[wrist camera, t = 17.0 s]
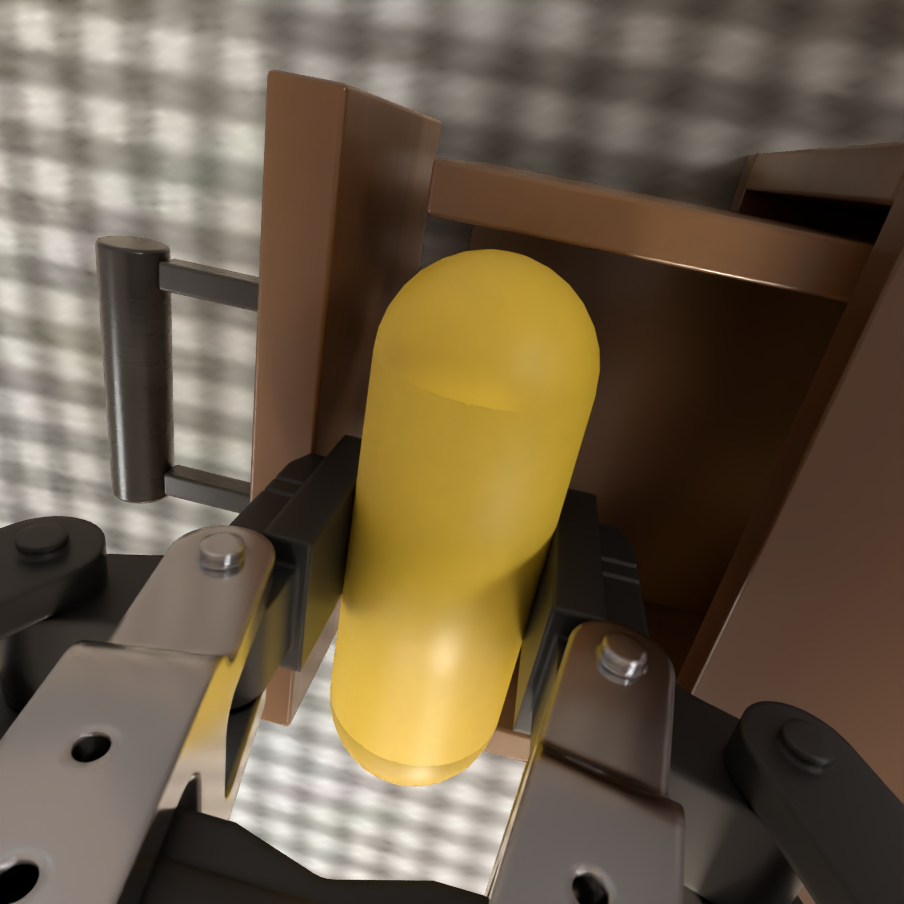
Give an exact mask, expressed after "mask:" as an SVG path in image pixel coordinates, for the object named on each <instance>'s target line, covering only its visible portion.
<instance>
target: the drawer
mask: <svg viewBox="0 0 904 904" xmlns="http://www.w3.org/2000/svg"><path fill="white" fill-rule="evenodd" d="M440 132H441V122H440V121H439V120H437V119H434V118H432V117H429V116H427V115H424V114H422V113H419V112H416V111H414V110H411V109H409V108H406V107H404V106H401V105H398V104H396V103H393V102H391V101H388V100H386V99H383V98H380V97H378V96H375V95H373V94H370V93H368V92H365V91H362V90H360V89H357V88H355V87H352V86H350V85H347V84H344V83H340V82H335V81H330V80H325V79H320V78H314V77H309V76H304V75H299V74H294V73H288V72H283V71H278V70H272V71H269V73H268V79H267V103H266V127H265V151H264V174H263V198H262V222H261V246H260V270H259V277H255V276H251V275H246V274H241V273H237V272H232V271H228V270H223V269H219V268H214V267H210V266H205V265H201V264H196V263H192V262H187V261H183V260H178V259H171V260H170V249H169V247H168V246H167V245H165V244H163V243H161V242H158V241H154V240H150V239H145V238H138V237H128V236H107V237H102V238H98V239H97V240H96V242H95V251H96V266H97V280H98V294H99V309H100V323H101V338H102V352H103V367H104V381H105V395H106V410H107V424H108V439H109V453H110V467H111V482H112V491H113V493H114V495H115V496H116V497H117V498H119V499H120V500H123V501H126V502H130V503H151V502H156V501H159V500H162V499H164V498H166V497H168V496H173V497H177V498H181V499H185V500H189V501H193V502H197V503H201V504H205V505H209V506H213V507H217V508H221V509H225V510H229V511H233V512H236V513H241V512H242V511H243V510H244V509H245V508H246V507H247V506H248V505H249V504H250V503H251V502H252V501H253V500H254V499H255V498H256V497H257V496H258V495H259V494H260V492H261V491H264V490H265V487H266V486H267V485H268V484H269V483H270V482H271V481H272V480H273V479H276V476H277V475H278V474H279V473H280V472H281V471H282V469H283V468H284V467H285V466H286V465H287V464H288V463H289V462H291V461H294V460H296V459H298V458H301V457H303V456H305V455H308V454H310V453H314V454H318V455H322V456H327V455H328V454H329V453H330V452H331V450H332V449H333V448H334V447H335V446H336V444H337V443H338V442H339V441H340V440H341V439H342V437H343V436H344V435H350V436H354V437H358V438H362V435H363V427H364V419H365V411H366V403H367V396H368V388H369V380H370V372H371V364H372V356H373V348H374V344H375V340H376V336H377V331H378V327H379V325H380V323H381V321H382V318H383V316H384V314H385V312H386V310H387V308H388V306H389V305H390V303H391V302H392V301H393V299H394V298H395V297H396V295H397V294H398V293H399V291H400V290H401V289H402V287H403V286H404V285H405V284H406V283H407V282H408V281H409V280H411V279H412V278H413V277H414V276H415V275H416V274H417V273H418V272H419V270H420V264H421V257H422V250H423V244H424V237H425V231H426V224H427V217H428V214H429V215H430V216H435V217H439V218H444V219H449V220H454V221H459V222H463V223H468V224H472V230H471V235H470V241H469V246H468V251H473V250H485V249H496V250H503V251H509V252H513V253H518V254H521V255H525V256H527V257H530V258H532V259H533V260H535V261H537V262H539V263H541V264H543V265H545V266H547V267H549V268H550V269H552V270H553V271H554V272H555V273H556V274H558V275H559V276H560V277H561V278H562V279H563V280H565V281H566V282H567V283H568V284H569V285H570V286H571V287H572V289H573V290H574V291H575V293H576V294H577V295H578V297H579V298H580V299H581V301H582V302H583V304H584V306H585V308H586V310H587V312H588V314H589V316H590V318H591V321H592V323H593V325H594V327H595V332H596V336H597V340H598V345H599V349H600V373H599V379H598V384H597V389H596V396H595V399H594V403H593V406H592V409H591V413H590V416H589V420H588V423H587V426H586V430H585V433H584V436H583V440H582V443H581V446H580V450H579V453H578V456H577V460H576V463H575V466H574V470H573V473H572V476H571V480H570V483H569V487H568V488H570V489H574V490H579V491H583V492H587V493H591V494H595V495H596V498H597V510H598V522H599V523H601V524H605V525H610V526H614V527H618V528H620V529H621V531H622V532H623V533H624V534H625V536H626V537H627V538H628V540H629V541H630V542H631V544H632V545H633V546H634V550H635V556H636V562H637V568H636V569H638V574H639V580H640V582H639V585H640V586H641V591H642V597H643V603H644V609H645V615H646V621H647V627H648V633H649V638H651V639H652V640H653V641H654V642H656V643H657V644H658V645H659V646H660V647H661V648H662V649H663V650H664V651H665V653H666V654H667V656H668V657H669V658H670V660H671V662H672V664H673V667H674V670H675V678H676V680H677V677H678V675H679V673H680V671H681V669H682V666H683V664H684V662H685V660H686V658H687V656H688V653H689V651H690V649H691V647H692V645H693V642H694V640H695V638H696V636H697V634H698V631H699V629H700V627H701V625H702V623H703V620H704V618H705V616H706V614H707V612H708V609H709V607H710V605H711V603H712V601H713V598H714V596H715V594H716V592H717V590H718V587H719V585H720V583H721V581H722V579H723V576H724V574H725V572H726V570H727V568H728V565H729V563H730V561H731V559H732V557H733V554H734V552H735V550H736V548H737V546H738V543H739V541H740V539H741V537H742V535H743V533H744V530H745V528H746V526H747V524H748V522H749V519H750V517H751V515H752V513H753V511H754V508H755V506H756V504H757V502H758V500H759V497H760V495H761V493H762V491H763V489H764V486H765V484H766V482H767V480H768V478H769V475H770V473H771V471H772V469H773V467H774V464H775V462H776V460H777V458H778V456H779V453H780V451H781V449H782V447H783V445H784V442H785V440H786V438H787V436H788V434H789V431H790V429H791V427H792V425H793V423H794V420H795V418H796V416H797V414H798V412H799V409H800V407H801V405H802V403H803V401H804V399H805V396H806V394H807V392H808V390H809V388H810V385H811V383H812V381H813V379H814V377H815V374H816V372H817V370H818V368H819V366H820V363H821V361H822V359H823V357H824V355H825V352H826V350H827V348H828V346H829V344H830V341H831V339H832V337H833V335H834V333H835V330H836V328H837V326H838V324H839V322H840V319H841V317H842V315H843V313H844V311H845V308H846V306H847V304H848V302H849V300H850V297H851V295H852V293H853V291H854V289H855V286H856V284H857V282H858V280H859V278H860V276H861V273H862V271H863V269H864V267H865V265H866V262H867V260H868V258H869V256H870V254H871V251H872V249H873V247H874V245H875V243H876V240H873V239H868V238H863V237H858V236H853V235H848V234H843V233H838V232H833V231H828V230H823V229H818V228H813V227H808V226H803V225H798V224H793V223H788V222H783V221H778V220H773V219H768V218H763V217H758V216H753V215H748V214H743V213H738V212H733V211H728V210H723V209H718V208H713V207H708V206H703V205H698V204H693V203H688V202H683V201H678V200H673V199H668V198H663V197H658V196H653V195H648V194H643V193H638V192H633V191H628V190H623V189H618V188H613V187H608V186H603V185H598V184H593V183H588V182H583V181H578V180H573V179H568V178H563V177H558V176H553V175H548V174H543V173H538V172H533V171H528V170H523V169H518V168H513V167H508V166H503V165H498V164H493V163H484V162H474V161H463V160H453V159H443V158H438V159H436V158H437V152H438V145H439V138H440ZM171 293H176V294H180V295H185V296H189V297H193V298H198V299H202V300H207V301H211V302H216V303H220V304H225V305H229V306H233V307H238V308H242V309H247V310H251V311H256V312H258V317H257V341H256V365H255V388H254V412H253V436H252V460H251V483H250V482H245V481H241V480H237V479H233V478H229V477H225V476H221V475H217V474H213V473H209V472H205V471H201V470H197V469H193V468H189V467H185V466H181V465H176V466H174V424H173V371H172V318H171ZM341 600H342V595H341V597H340V599H339V600H338V602H337V604H336V606H335V608H334V610H333V612H332V614H331V615H330V617H329V619H328V621H327V623H326V625H325V627H324V628H323V630H322V632H321V634H320V636H319V638H318V640H317V642H316V643H315V645H314V647H313V649H312V651H311V653H310V655H309V657H308V658H307V660H306V662H305V664H304V666H303V668H302V670H301V671H300V672H297V671H293V670H289V669H286V668H282V667H278V669H277V671H276V673H275V674H274V676H273V678H272V679H271V681H270V683H269V685H268V686H267V690H266V701H265V706H264V709H263V712H262V715H261V719H262V720H266V721H269V722H273V723H276V724H280V725H284V726H289V725H290V723H291V721H292V719H293V717H294V715H295V713H296V711H297V709H298V707H299V706H300V704H301V702H302V700H303V698H304V696H305V694H306V692H307V690H308V688H309V686H310V684H311V682H312V680H313V678H314V676H315V674H316V672H317V670H318V668H319V666H320V664H321V662H322V660H323V658H324V656H325V654H326V652H327V650H328V648H329V646H330V644H331V642H332V640H333V638H334V636H335V634H336V632H337V630H338V624H339V616H340V608H341ZM521 647H522V644H521ZM521 647H520V651H519V654H518V657H517V661H516V664H515V667H514V671H513V674H512V677H511V681H510V684H509V688H508V691H507V694H506V698H505V701H504V704H503V708H502V711H501V714H500V718H499V721H498V724H497V727H496V729H495V731H494V733H493V735H492V737H491V739H490V741H489V743H488V745H487V746H486V748H485V749H484V751H487V752H491V753H495V754H498V755H502V756H506V757H509V758H513V759H516V760H520V761H524V762H527V760H528V757H529V754H530V741H531V736H530V735H526V734H522V733H519V732H515V731H513V726H514V716H515V706H516V696H517V686H518V677H519V667H520V657H521ZM676 680H675V682H676Z"/></svg>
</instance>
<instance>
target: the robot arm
mask: <svg viewBox="0 0 904 904" xmlns="http://www.w3.org/2000/svg"><path fill="white" fill-rule="evenodd" d="M361 443H362V438H358V437H354V436H350V435H344V436H343V437H342V439H341V440H340V441H339V442H338V443H337V444H336V446H335V447H334V448H333V449H332V450H331V452H330V453H329V454H328V455H327V456H322V455H318V454H314V453H310V454H308V455H305V456H303V457H301V458H298V459H296V460H294V461H291V462H289V463H288V464H287V465H286V466H285V467H284V468H283V469H282V471H281V472H280V473H279V474H278V475H277V476H276V479H273V480H272V481H271V482H270V483H269V484H268V485H267V486H266V487H265V490H264V491H261V492H260V494H259V495H258V496H257V497H256V498H255V499H254V500H253V501H252V502H251V503H250V504H249V505H248V506H247V507H246V508H245V509H244V510H243V511H242V512H241V513H240V514H239V515H238V516H237V518H236V519H235V520H234V521H233V522H232V523H231V524H230V525H225V526H210V527H205V528H201V529H198V530H194V531H192V532H189V533H187V534H185V535H183V536H182V537H180V538H179V539H177V540H176V541H175V542H174V543H173V544H172V545H171V546H170V548H169V549H168V551H167V552H166V554H165V555H124V554H106V543H105V536H104V533H103V532H102V530H101V529H100V528H99V527H98V526H96V525H95V524H93V523H91V522H89V521H86V520H83V519H79V518H74V517H64V516H52V517H41V518H34V519H29V520H25V521H21V522H18V523H15V524H12V525H9V526H6V527H3V528H0V904H803V902H802V901H801V899H800V898H799V896H798V893H799V892H800V891H801V889H802V888H803V886H804V887H805V888H806V890H807V891H808V893H809V894H810V896H811V897H812V899H813V900H814V902H815V903H816V904H904V804H903V803H902V802H901V801H900V800H899V799H898V798H897V797H896V795H895V794H894V793H893V792H892V791H891V790H890V789H889V787H888V786H887V785H886V784H885V783H884V782H883V781H882V780H881V778H880V777H879V776H878V775H877V774H876V773H875V772H874V771H873V769H872V768H871V767H870V766H869V765H868V764H867V763H866V762H865V760H864V759H863V758H862V757H861V756H860V755H859V754H858V753H857V751H856V750H855V749H854V748H853V747H852V746H851V745H850V744H849V743H848V742H847V741H846V739H845V738H844V737H843V736H841V735H840V734H839V733H838V732H837V731H836V730H835V729H833V728H832V727H831V726H829V725H828V724H827V723H825V722H824V721H822V720H821V719H819V718H817V717H816V716H814V715H812V714H810V713H809V712H807V711H805V710H803V709H800V708H798V707H795V706H793V705H789V704H786V703H782V702H776V701H761V702H756V703H754V704H751V705H750V706H749V707H747V708H746V710H745V711H744V713H743V715H742V716H741V718H740V719H739V718H737V717H735V716H733V715H731V714H729V713H727V712H725V711H723V710H721V709H719V708H717V707H715V706H713V705H711V704H709V703H707V702H705V701H703V700H701V699H699V698H698V697H696V696H694V695H692V694H691V693H689V692H688V691H686V690H685V689H683V688H682V687H681V686H680V685H678V684H677V683H676V682H675V680H676V678H675V670H674V667H673V664H672V662H671V660H670V658H669V657H668V656H667V654H666V653H665V651H664V650H663V649H662V648H661V647H660V646H659V645H658V644H657V643H656V642H654V641H653V640H652V639H651V638H649V633H648V627H647V621H646V615H645V609H644V603H643V597H642V591H641V586H640V585H639V582H640V580H639V574H638V569H636V568H637V562H636V556H635V550H634V546H633V545H632V544H631V542H630V541H629V540H628V538H627V537H626V536H625V534H624V533H623V532H622V531H621V529H620V528H618V527H614V526H610V525H605V524H601V523H599V522H598V510H597V498H596V495H595V494H591V493H587V492H583V491H579V490H574V489H570V488H568V490H567V493H566V497H565V500H564V503H563V507H562V510H561V513H560V517H559V520H558V523H557V526H556V529H555V531H554V535H553V538H552V541H551V545H550V548H549V551H548V555H547V558H546V561H545V565H544V568H543V572H542V575H541V578H540V582H539V585H538V588H537V592H536V595H535V598H534V602H533V605H532V608H531V612H530V615H529V619H528V622H527V625H526V629H525V632H524V635H523V639H522V647H521V657H520V667H519V677H518V686H517V696H516V706H515V716H514V726H513V731H515V732H519V733H522V734H526V735H530V736H531V741H530V754H529V757H528V760H527V763H526V766H525V769H524V772H523V775H522V778H521V781H520V784H519V787H518V790H517V794H516V797H515V800H514V803H513V806H512V809H511V813H510V816H509V819H508V822H507V825H506V828H505V832H504V835H503V838H502V841H501V844H500V847H499V851H498V854H497V857H496V860H495V863H494V866H493V870H492V873H491V876H490V879H489V882H488V885H487V889H486V892H485V895H484V896H483V895H480V894H477V893H473V892H470V891H466V890H463V889H460V888H456V887H453V886H449V885H446V884H443V883H439V882H436V881H411V880H333V879H326V878H323V877H320V876H318V875H316V874H314V873H312V872H311V871H309V870H308V869H306V868H305V867H303V866H301V865H300V864H298V863H297V862H295V861H294V860H292V859H291V858H289V857H288V856H286V855H285V854H283V853H281V852H280V851H278V850H277V849H275V848H274V847H272V846H271V845H269V844H268V843H266V842H265V841H263V840H261V839H260V838H258V837H257V836H255V835H254V834H252V833H251V832H249V831H248V830H246V829H245V828H243V827H241V826H240V825H238V824H237V823H235V822H232V821H229V819H230V816H231V812H232V809H233V806H234V802H235V799H236V796H237V793H238V790H239V786H240V783H241V780H242V777H243V773H244V770H245V767H246V764H247V761H248V757H249V754H250V751H251V748H252V744H253V741H254V738H255V735H256V732H257V728H258V725H259V722H260V719H261V715H262V712H263V709H264V706H265V701H266V690H267V686H268V685H269V683H270V681H271V679H272V678H273V676H274V674H275V673H276V671H277V669H278V667H282V668H286V669H289V670H293V671H297V672H300V671H301V670H302V668H303V666H304V664H305V662H306V660H307V658H308V657H309V655H310V653H311V651H312V649H313V647H314V645H315V643H316V642H317V640H318V638H319V636H320V634H321V632H322V630H323V628H324V627H325V625H326V623H327V621H328V619H329V617H330V615H331V614H332V612H333V610H334V608H335V606H336V604H337V602H338V600H339V599H340V597H341V595H342V593H343V585H344V577H345V569H346V561H347V553H348V545H349V538H350V530H351V522H352V514H353V506H354V498H355V490H356V482H357V474H358V466H359V459H360V451H361Z"/></svg>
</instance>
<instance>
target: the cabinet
mask: <svg viewBox="0 0 904 904" xmlns="http://www.w3.org/2000/svg"><path fill="white" fill-rule="evenodd" d="M729 211H733V212H738V213H743V214H748V215H753V216H758V217H763V218H768V219H773V220H778V221H783V222H788V223H793V224H798V225H803V226H808V227H813V228H818V229H823V230H828V231H833V232H838V233H843V234H848V235H853V236H858V237H863V238H868V239H873V240H876V243H875V245H874V247H873V249H872V251H871V254H870V256H869V258H868V260H867V262H866V265H865V267H864V269H863V271H862V273H861V276H860V278H859V280H858V282H857V284H856V286H855V289H854V291H853V293H852V295H851V297H850V300H849V302H848V304H847V306H846V308H845V311H844V313H843V315H842V317H841V319H840V322H839V324H838V326H837V328H836V330H835V333H834V335H833V337H832V339H831V341H830V344H829V346H828V348H827V350H826V352H825V355H824V357H823V359H822V361H821V363H820V366H819V368H818V370H817V372H816V374H815V377H814V379H813V381H812V383H811V385H810V388H809V390H808V392H807V394H806V396H805V399H804V401H803V403H802V405H801V407H800V409H799V412H798V414H797V416H796V418H795V420H794V423H793V425H792V427H791V429H790V431H789V434H788V436H787V438H786V440H785V442H784V445H783V447H782V449H781V451H780V453H779V456H778V458H777V460H776V462H775V464H774V467H773V469H772V471H771V473H770V475H769V478H768V480H767V482H766V484H765V486H764V489H763V491H762V493H761V495H760V497H759V500H758V502H757V504H756V506H755V508H754V511H753V513H752V515H751V517H750V519H749V522H748V524H747V526H746V528H745V530H744V533H743V535H742V537H741V539H740V541H739V543H738V546H737V548H736V550H735V552H734V554H733V557H732V559H731V561H730V563H729V565H728V568H727V570H726V572H725V574H724V576H723V579H722V581H721V583H720V585H719V587H718V590H717V592H716V594H715V596H714V598H713V601H712V603H711V605H710V607H709V609H708V612H707V614H706V616H705V618H704V620H703V623H702V625H701V627H700V629H699V631H698V634H697V636H696V638H695V640H694V642H693V645H692V647H691V649H690V651H689V653H688V656H687V658H686V660H685V662H684V664H683V666H682V669H681V671H680V673H679V675H678V677H677V680H676V683H677V684H678V685H680V686H681V687H682V688H683V689H685V690H686V691H688V692H689V693H691V694H692V695H694V696H696V697H698V698H699V699H701V700H703V701H705V702H707V703H709V704H711V705H713V706H715V707H717V708H719V709H721V710H723V711H725V712H727V713H729V714H731V715H733V716H735V717H737V718H739V719H740V718H741V716H742V715H743V713H744V711H745V710H746V708H747V707H749V706H750V705H751V704H754V703H756V702H761V701H776V702H782V703H786V704H789V705H793V706H795V707H798V708H800V709H803V710H805V711H807V712H809V713H810V714H812V715H814V716H816V717H817V718H819V719H821V720H822V721H824V722H825V723H827V724H828V725H829V726H831V727H832V728H833V729H835V730H836V731H837V732H838V733H839V734H840V735H841V736H843V737H844V738H845V739H846V741H847V742H848V743H849V744H850V745H851V746H852V747H853V748H854V749H855V750H856V751H857V753H858V754H859V755H860V756H861V757H862V758H863V759H864V760H865V762H866V763H867V764H868V765H869V766H870V767H871V768H872V769H873V771H874V772H875V773H876V774H877V775H878V776H879V777H880V778H881V780H882V781H883V782H884V783H885V784H886V785H887V786H888V787H889V789H890V790H891V791H892V792H893V793H894V794H895V795H896V797H897V798H898V799H899V800H900V801H901V802H902V803H903V804H904V141H898V142H887V143H876V144H864V145H853V146H842V147H830V148H819V149H808V150H797V151H785V152H774V153H763V154H759V153H758V154H749V155H748V157H747V159H746V162H745V165H744V168H743V171H742V174H741V177H740V179H739V182H738V185H737V188H736V191H735V194H734V197H733V200H732V202H731V205H730V208H729ZM798 896H799V898H800V899H801V901H802V902H803V904H816V903H815V902H814V900H813V899H812V897H811V896H810V894H809V893H808V891H807V890H806V888H805V887H804V886H803V888H802V889H801V891H800V892H799V893H798Z"/></svg>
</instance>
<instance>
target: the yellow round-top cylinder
mask: <svg viewBox="0 0 904 904" xmlns="http://www.w3.org/2000/svg"><path fill="white" fill-rule="evenodd" d="M599 373H600V349H599V345H598V340H597V336H596V332H595V327H594V325H593V323H592V321H591V318H590V316H589V314H588V312H587V310H586V308H585V306H584V304H583V302H582V301H581V299H580V298H579V297H578V295H577V294H576V293H575V291H574V290H573V289H572V287H571V286H570V285H569V284H568V283H567V282H566V281H565V280H563V279H562V278H561V277H560V276H559V275H558V274H556V273H555V272H554V271H553V270H552V269H550V268H549V267H547V266H545V265H543V264H541V263H539V262H537V261H535V260H533V259H532V258H530V257H527V256H525V255H521V254H518V253H513V252H509V251H503V250H496V249H485V250H473V251H464V252H461V253H458V254H455V255H451V256H448V257H445V258H442V259H440V260H438V261H436V262H435V263H433V264H431V265H429V266H428V267H426V268H424V269H422V270H421V271H420V272H418V273H417V274H416V275H415V276H414V277H413V278H412V279H411V280H409V281H408V282H407V283H406V284H405V285H404V286H403V287H402V289H401V290H400V291H399V293H398V294H397V295H396V297H395V298H394V299H393V301H392V302H391V303H390V305H389V306H388V308H387V310H386V312H385V314H384V316H383V318H382V321H381V323H380V325H379V327H378V331H377V336H376V340H375V344H374V348H373V356H372V364H371V372H370V380H369V388H368V396H367V403H366V411H365V419H364V427H363V435H362V443H361V451H360V459H359V466H358V474H357V482H356V490H355V498H354V506H353V514H352V522H351V530H350V538H349V545H348V553H347V561H346V569H345V577H344V585H343V593H342V600H341V608H340V616H339V624H338V632H337V640H336V647H335V655H334V663H333V671H332V679H331V687H330V691H331V692H330V700H331V711H332V716H333V721H334V724H335V727H336V730H337V732H338V735H339V737H340V739H341V742H342V743H343V745H344V746H345V748H346V749H347V750H348V752H349V753H350V755H351V756H352V757H353V758H354V759H355V761H357V762H358V763H359V764H360V765H361V766H362V767H363V768H364V769H365V770H366V771H368V772H370V773H371V774H373V775H374V776H376V777H378V778H380V779H382V780H385V781H388V782H390V783H393V784H398V785H404V786H426V785H432V784H436V783H439V782H441V781H444V780H447V779H449V778H451V777H453V776H455V775H457V774H459V773H460V772H462V771H463V770H465V769H466V768H468V767H469V766H470V765H471V764H472V762H473V761H474V760H475V759H476V758H477V757H478V756H479V755H480V754H481V753H482V752H483V751H484V749H485V748H486V746H487V745H488V743H489V741H490V739H491V737H492V735H493V733H494V731H495V729H496V727H497V724H498V721H499V718H500V714H501V711H502V708H503V704H504V701H505V698H506V694H507V691H508V688H509V684H510V681H511V677H512V674H513V671H514V667H515V664H516V661H517V657H518V654H519V651H520V647H521V644H522V639H523V635H524V632H525V629H526V625H527V622H528V619H529V615H530V612H531V608H532V605H533V602H534V598H535V595H536V592H537V588H538V585H539V582H540V578H541V575H542V572H543V568H544V565H545V561H546V558H547V555H548V551H549V548H550V545H551V541H552V538H553V535H554V531H555V529H556V526H557V523H558V520H559V517H560V513H561V510H562V507H563V503H564V500H565V497H566V493H567V490H568V487H569V483H570V480H571V476H572V473H573V470H574V466H575V463H576V460H577V456H578V453H579V450H580V446H581V443H582V440H583V436H584V433H585V430H586V426H587V423H588V420H589V416H590V413H591V409H592V406H593V403H594V399H595V396H596V389H597V384H598V379H599Z"/></svg>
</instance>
